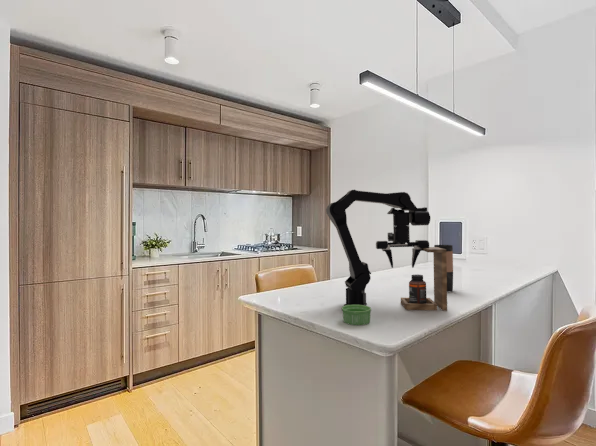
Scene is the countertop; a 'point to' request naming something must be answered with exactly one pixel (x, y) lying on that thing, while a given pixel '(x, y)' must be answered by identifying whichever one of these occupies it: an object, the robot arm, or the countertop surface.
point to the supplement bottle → (417, 290)
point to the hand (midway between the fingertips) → (402, 267)
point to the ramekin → (356, 314)
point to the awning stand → (439, 284)
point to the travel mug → (448, 265)
